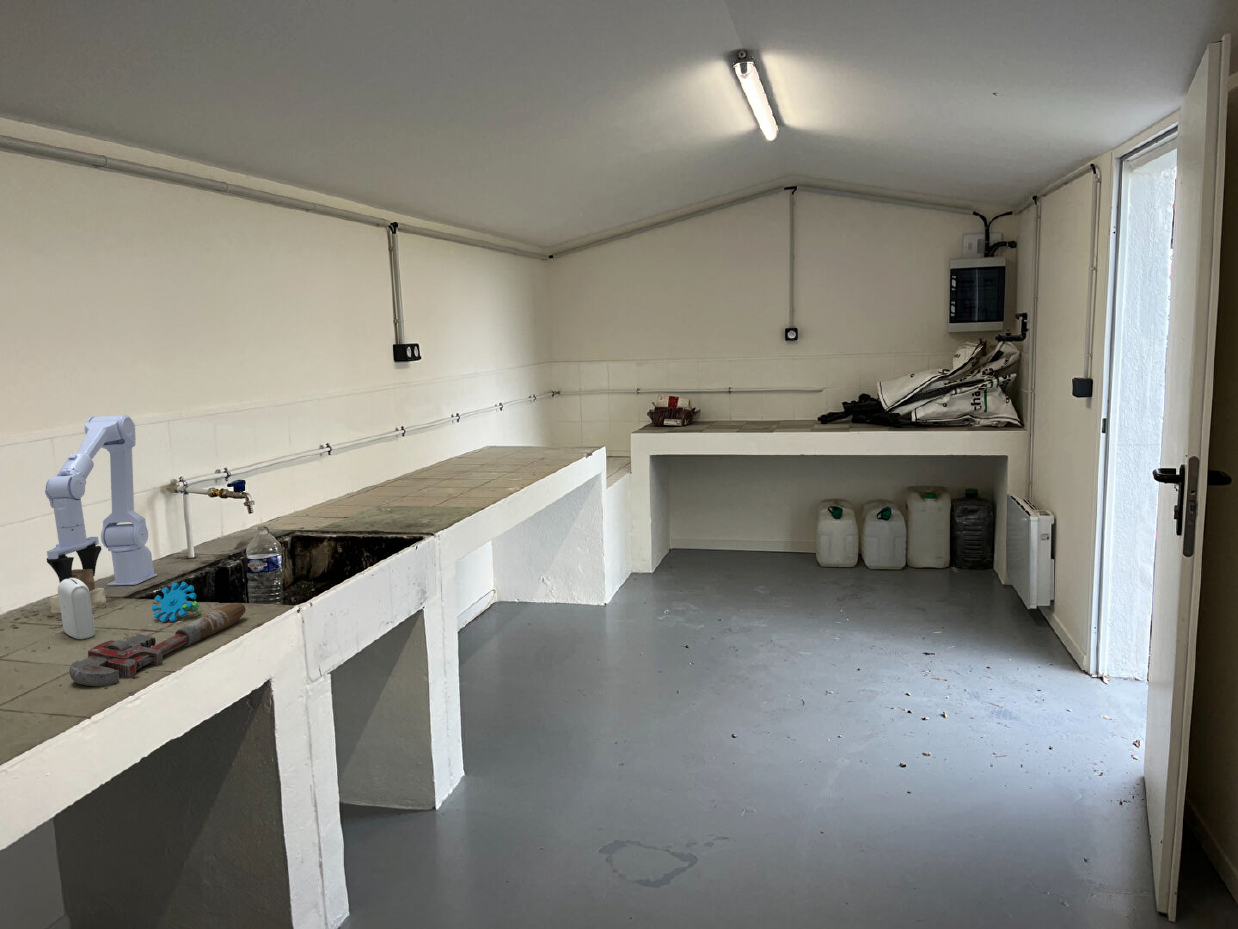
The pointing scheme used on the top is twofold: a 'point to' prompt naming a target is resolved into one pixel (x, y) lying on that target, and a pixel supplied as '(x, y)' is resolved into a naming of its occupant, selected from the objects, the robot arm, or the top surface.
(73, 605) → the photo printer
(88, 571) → the walnut cube
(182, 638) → the pipe wrench
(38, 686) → the top surface
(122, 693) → the top surface
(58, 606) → the birch block
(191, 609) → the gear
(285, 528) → the top surface
